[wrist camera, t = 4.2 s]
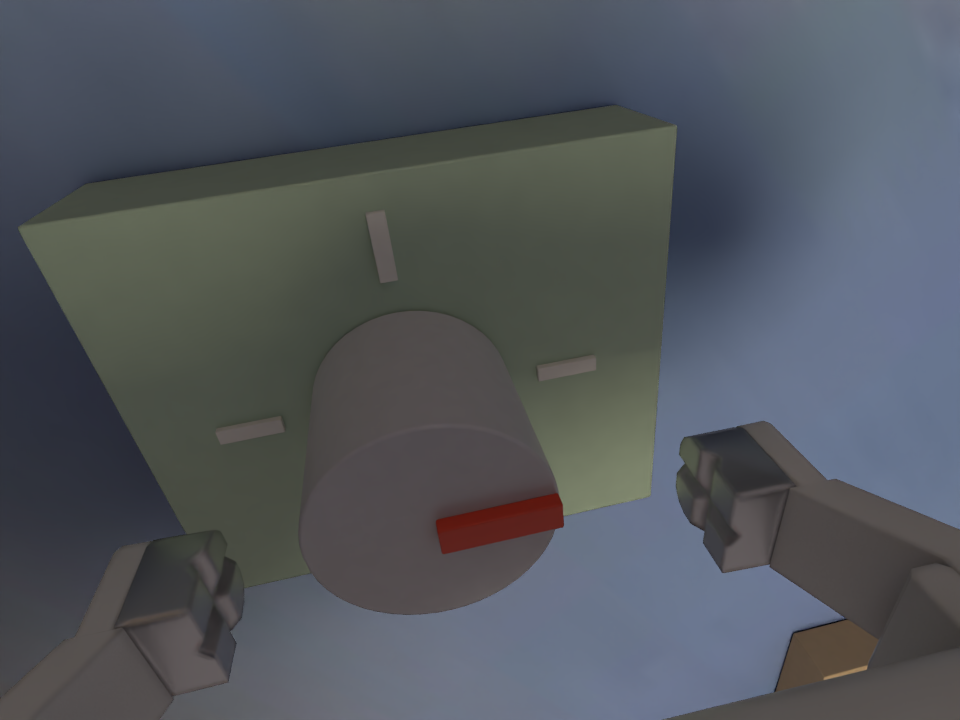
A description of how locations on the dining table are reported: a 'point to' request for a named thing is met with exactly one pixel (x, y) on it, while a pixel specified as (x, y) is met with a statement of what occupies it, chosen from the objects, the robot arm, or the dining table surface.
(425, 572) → the program dial
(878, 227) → the dining table surface
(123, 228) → the panel
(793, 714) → the robot arm
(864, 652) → the block
